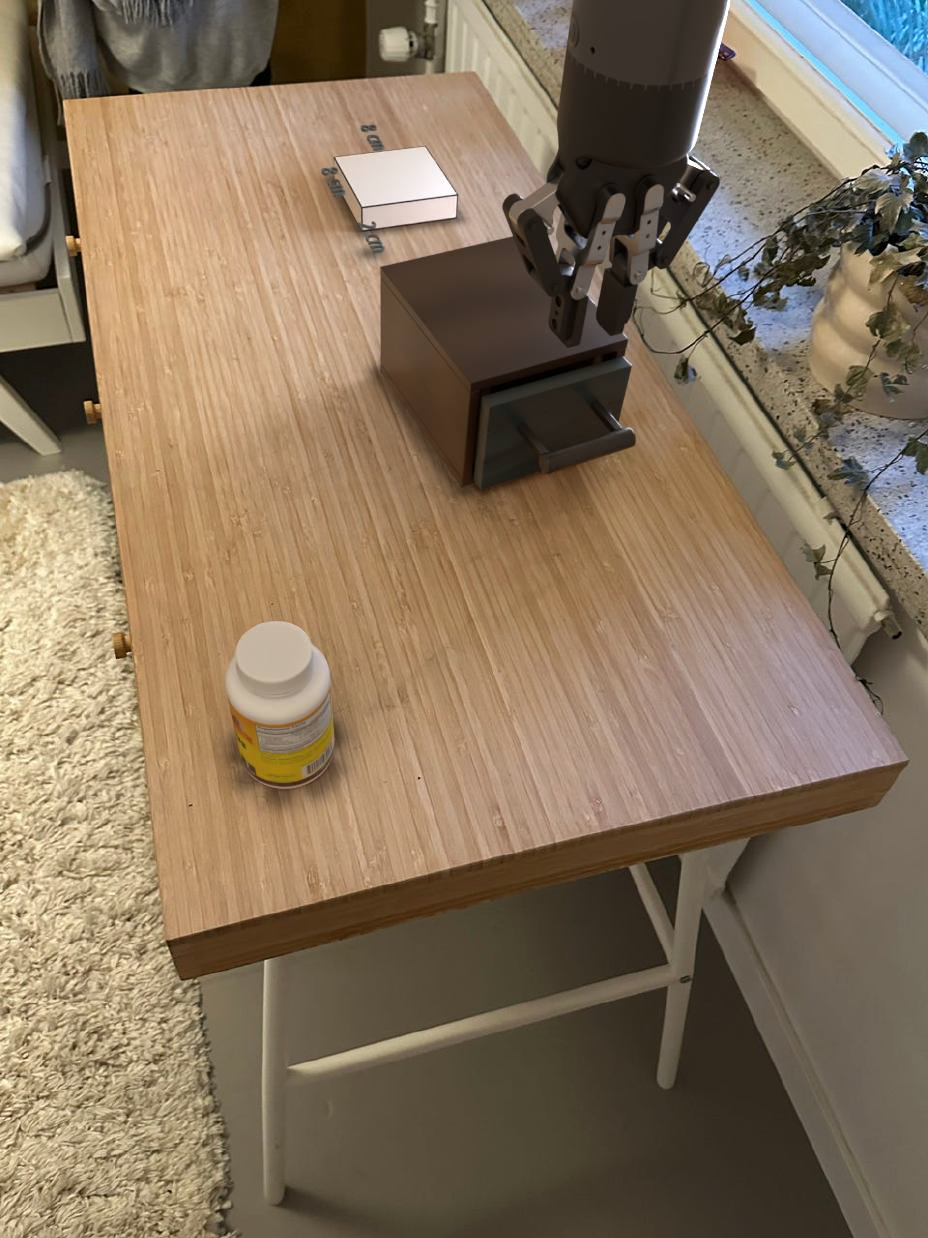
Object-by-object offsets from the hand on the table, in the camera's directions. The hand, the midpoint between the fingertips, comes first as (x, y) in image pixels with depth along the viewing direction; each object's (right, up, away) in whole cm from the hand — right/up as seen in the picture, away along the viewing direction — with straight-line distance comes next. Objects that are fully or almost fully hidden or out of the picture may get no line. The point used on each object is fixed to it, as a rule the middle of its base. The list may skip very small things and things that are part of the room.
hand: (587, 332), depth 64 cm
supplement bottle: (-18, -26, -4) cm, 32 cm away
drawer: (-4, -4, +13) cm, 14 cm away
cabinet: (-6, -1, +17) cm, 18 cm away
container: (-16, +22, +35) cm, 44 cm away
